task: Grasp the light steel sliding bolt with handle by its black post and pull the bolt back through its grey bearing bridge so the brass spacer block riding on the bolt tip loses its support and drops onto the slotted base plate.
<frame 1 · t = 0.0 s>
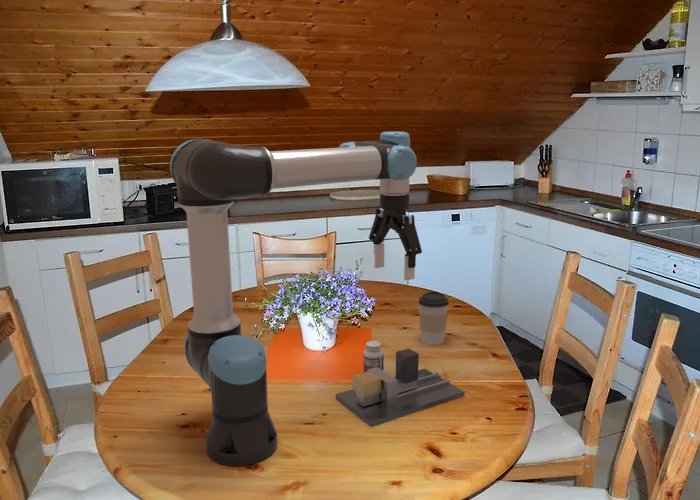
hand: (393, 273, 162), 28 cm above the table, fingers open, 13 cm apart
spacer: (366, 390, 148), point 4 cm above the table, touching sliding bolt with handle
slotted base plate: (400, 397, 154), on the table
sliding bolt with handle: (387, 377, 150), point 7 cm above the table, slide at 0.0 cm, touching spacer
pill bottle: (373, 377, 165), on the table
coffee cup: (432, 341, 189), on the table
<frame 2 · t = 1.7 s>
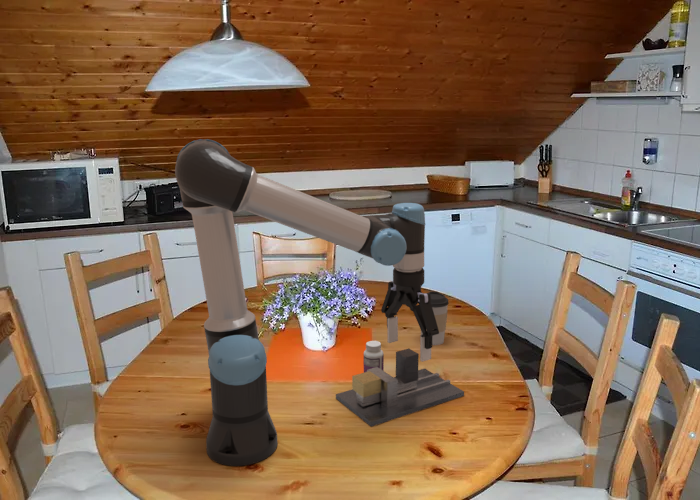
hand: (408, 350, 152), 12 cm above the table, fingers open, 13 cm apart
nothing on the table moved.
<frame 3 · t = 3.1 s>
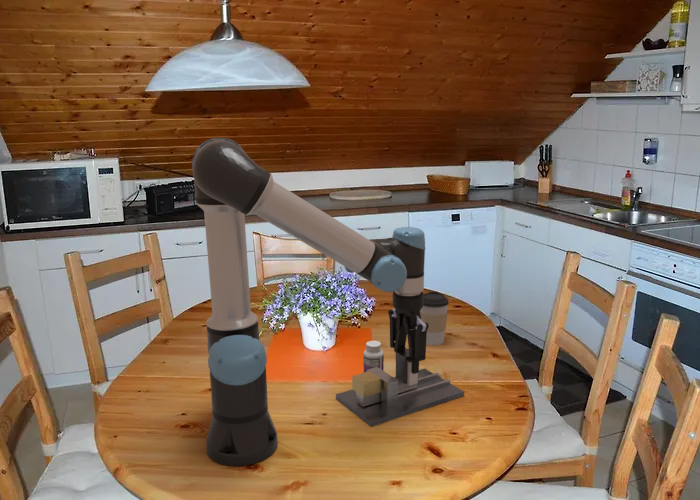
hand: (406, 380, 154), 4 cm above the table, fingers closed on sliding bolt with handle, 4 cm apart
sliding bolt with handle: (387, 377, 150), point 7 cm above the table, slide at 0.0 cm, touching gripper, spacer
everything else where it was.
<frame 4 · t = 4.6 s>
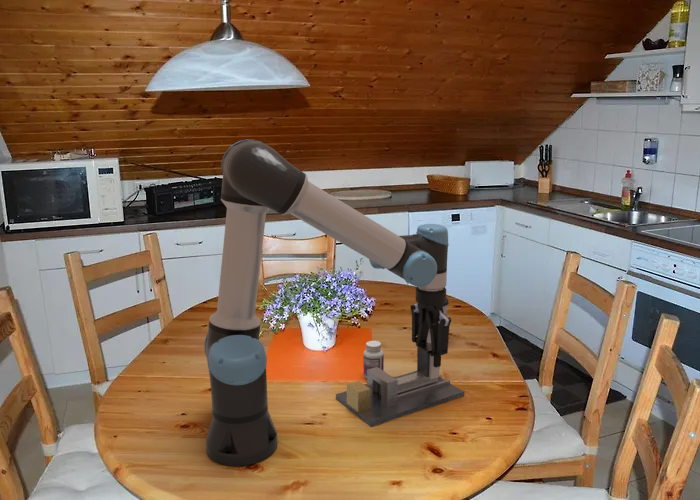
hand: (428, 373, 157), 4 cm above the table, fingers closed on sliding bolt with handle, 4 cm apart
spacer: (364, 394, 147), point 4 cm above the table, tilted 90°, touching slotted base plate
sliding bolt with handle: (409, 370, 154), point 6 cm above the table, slide at 6.8 cm, touching gripper
everything else where it was.
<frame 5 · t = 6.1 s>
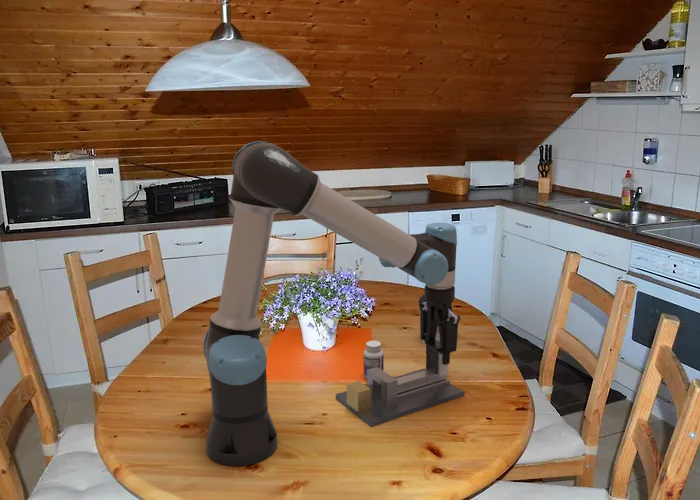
hand: (437, 371, 159), 4 cm above the table, fingers closed on sliding bolt with handle, 4 cm apart
sliding bolt with handle: (418, 368, 155), point 6 cm above the table, slide at 9.6 cm, touching gripper
everything else where it was.
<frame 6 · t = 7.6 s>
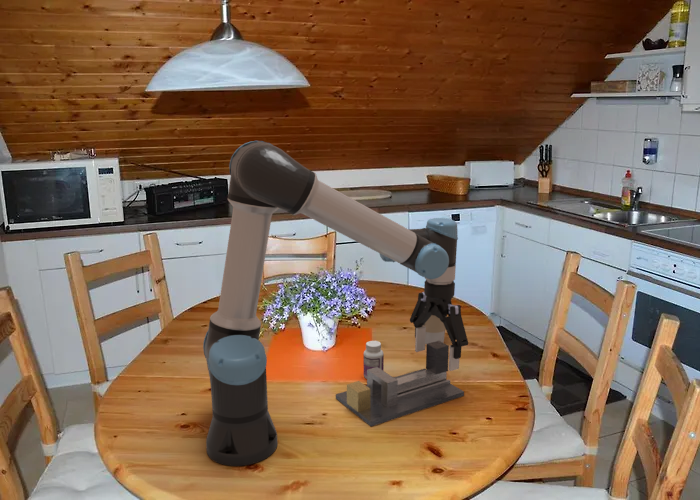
hand: (436, 359, 158), 7 cm above the table, fingers open, 13 cm apart
sliding bolt with handle: (418, 368, 155), point 7 cm above the table, slide at 9.6 cm
everything else where it was.
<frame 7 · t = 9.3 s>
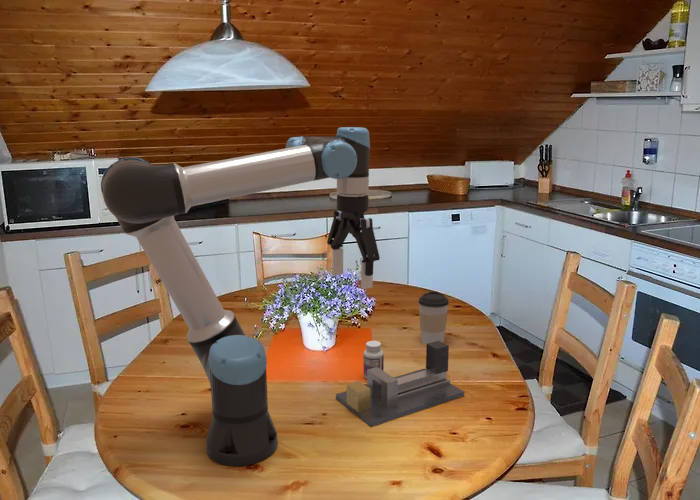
hand: (351, 281, 149), 30 cm above the table, fingers open, 13 cm apart
nothing on the table moved.
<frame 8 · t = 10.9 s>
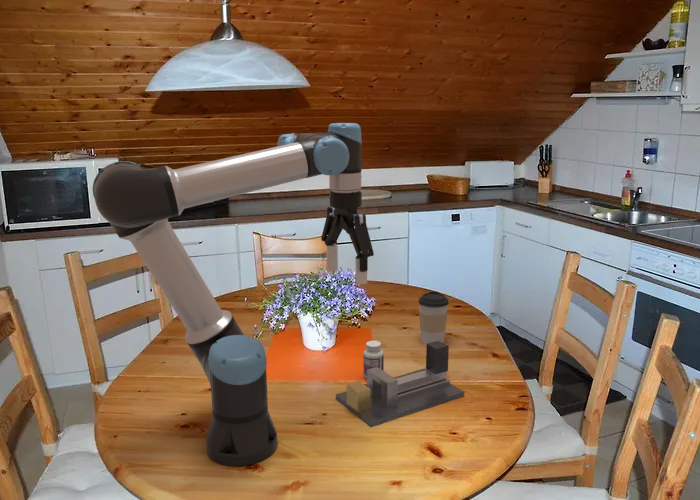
hand: (346, 277, 149), 31 cm above the table, fingers open, 13 cm apart
nothing on the table moved.
at the end: sliding bolt with handle slide at 9.6 cm; spacer point 3.7 cm above the table; spacer touching slotted base plate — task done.
